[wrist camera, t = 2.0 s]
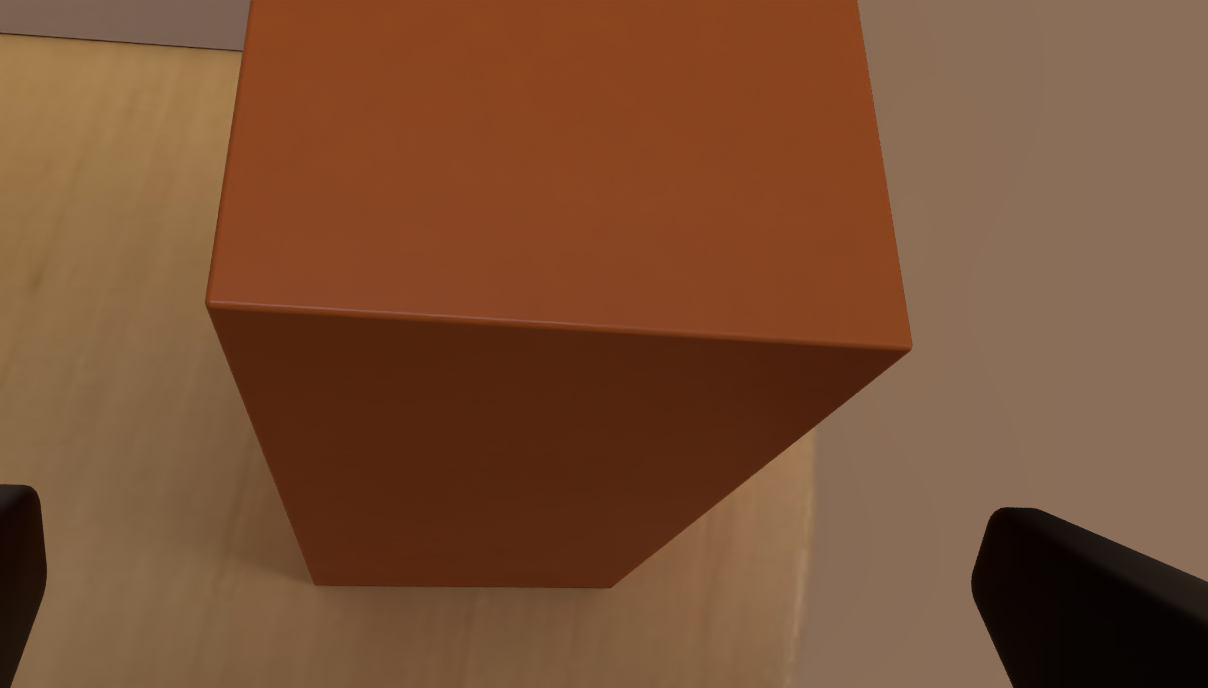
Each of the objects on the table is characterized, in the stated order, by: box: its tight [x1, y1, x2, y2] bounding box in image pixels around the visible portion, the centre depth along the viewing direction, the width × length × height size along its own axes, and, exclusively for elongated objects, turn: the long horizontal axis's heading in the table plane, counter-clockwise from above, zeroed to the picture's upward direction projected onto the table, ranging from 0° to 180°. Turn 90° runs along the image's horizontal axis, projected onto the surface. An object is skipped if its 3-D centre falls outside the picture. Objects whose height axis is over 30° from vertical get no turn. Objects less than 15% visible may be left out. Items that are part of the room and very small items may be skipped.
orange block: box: [205, 0, 912, 588], centre depth 15 cm, size 6×6×13 cm
